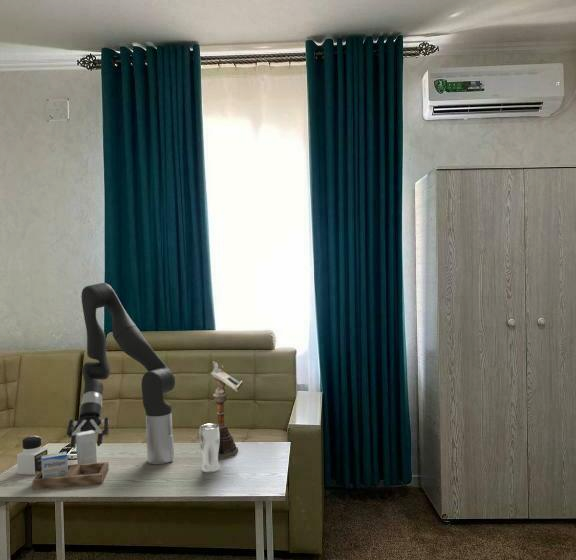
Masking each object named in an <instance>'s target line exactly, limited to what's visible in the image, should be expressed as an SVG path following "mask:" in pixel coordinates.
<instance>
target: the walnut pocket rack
mask: <svg viewBox="0 0 576 560" xmlns="http://www.w3.org/2000/svg"><path fill="white" fill-rule="evenodd" d="M109 471H110V470H109V461H101V462H100V461H99V462H98V461H97V463H86V464H68V472H67V473H66V474H65V475H64V477H54V478H42V470H41V471H40V472H39V473H38V474H36V475H35V477H34V479H33V480H32V490H33V491H35V490H45V489H46V490H47V489H56V488H57V489H58V488H69V487H80V486H90V485H91V486H92V485H103V484H104V481H105V478H106V476H107V474H108V473H109Z"/></svg>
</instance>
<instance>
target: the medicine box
mask: <svg viewBox="0 0 576 560" xmlns="http://www.w3.org/2000/svg"><path fill="white" fill-rule="evenodd" d="M68 461H69V460H68V453H67V451H62V452H55V453H50V454H48V455H43V456H41V463H42V478H54V477H64V475H65V474H66V473H67V472H68V465H69V462H68Z"/></svg>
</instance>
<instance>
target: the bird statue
mask: <svg viewBox="0 0 576 560" xmlns="http://www.w3.org/2000/svg"><path fill="white" fill-rule="evenodd" d="M212 365H213V370H212V371H211V372H210V373H209V374H210V375H211V377H212V378H213V379H214V380H215V381H216V382H217V384H218V387H217V388H215V390H214V393H213V395H212V396H213V398H214V399H213V400H214V401H213V402H215V403H216V407H217V408H216V411H217V412H216V415H217V423H216V424H217V425H219V433H220V446H219V453H218V460H219V459H222V460H225V459H228V458H233V457H236V455H237V454H238V453H239V447H237V446H236V443H235V441H234V437H233V435H232V434H231V433H230V431H229V430H228V429H229V428H228V425H227V424H226V423H225V409H224V408H225V406H224V404H225V402H226V401H227V395H228V394H227V393H226V389H225V388H224V387H225V386H228V387H229V388H231V389H232V390H233V391H234V393H238V390H239V389H241V387H242V386H243V380H242V379H241V380H240V381H239V380H237V379H236V378H234V377H233V376H231V375H229V374H228V373H227V372H225V371H224V368H225V367H224V364H221V366H220V368H219V364H218V362H216V361H212Z"/></svg>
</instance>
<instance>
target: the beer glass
mask: <svg viewBox="0 0 576 560" xmlns="http://www.w3.org/2000/svg"><path fill="white" fill-rule="evenodd" d="M198 434H199V435H198V436H199V449H200V451H201V457H202V465H201V466H202V467H201V471H202V472H203V473H208V474H209V473H211V474H212V473H216V472H219V470H220V469H221V468H220V463H219V459H218V453H219V446H220V433H219V425H217V423H205V424H202V425H200V426H199V433H198Z"/></svg>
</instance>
